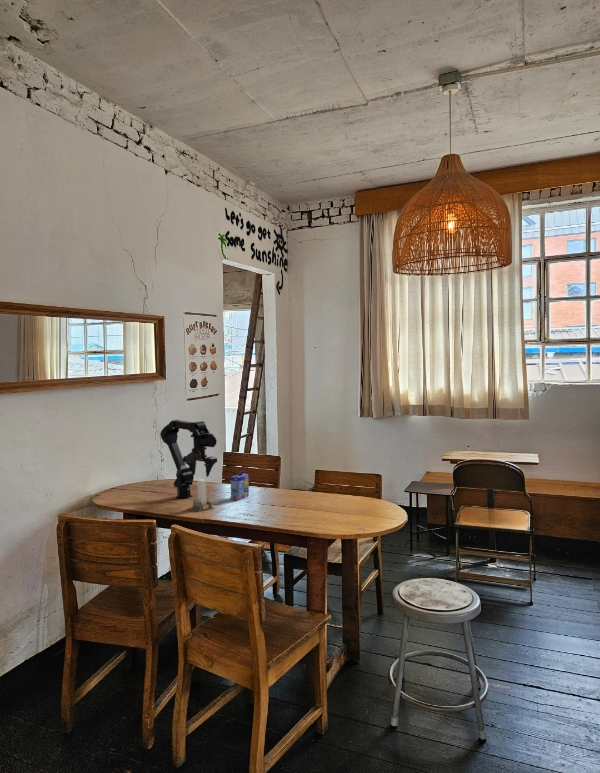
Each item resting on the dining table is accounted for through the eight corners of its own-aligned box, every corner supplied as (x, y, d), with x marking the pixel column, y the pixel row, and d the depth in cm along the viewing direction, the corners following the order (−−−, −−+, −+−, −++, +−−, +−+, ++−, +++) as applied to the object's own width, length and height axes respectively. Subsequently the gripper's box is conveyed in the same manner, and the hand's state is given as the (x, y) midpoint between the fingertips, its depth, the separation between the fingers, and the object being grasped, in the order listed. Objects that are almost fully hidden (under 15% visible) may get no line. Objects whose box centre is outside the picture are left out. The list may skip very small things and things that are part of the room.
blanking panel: (198, 505, 259) (197, 479, 259) (203, 504, 261) (201, 478, 260) (202, 507, 255) (200, 481, 255) (206, 506, 256) (205, 480, 256)
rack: (192, 507, 260) (192, 500, 260) (205, 504, 264) (205, 498, 264) (199, 511, 252) (198, 504, 252) (212, 508, 256) (212, 502, 256)
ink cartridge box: (239, 501, 269) (238, 473, 269) (230, 500, 272) (229, 472, 271) (249, 496, 278) (248, 469, 277) (241, 495, 281) (240, 468, 280)
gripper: (174, 447, 269) (176, 477, 270) (203, 449, 260) (204, 480, 260) (189, 444, 279) (190, 473, 279) (217, 445, 269) (218, 476, 270)
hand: (200, 475), depth 272 cm, fingers open, 9 cm apart
